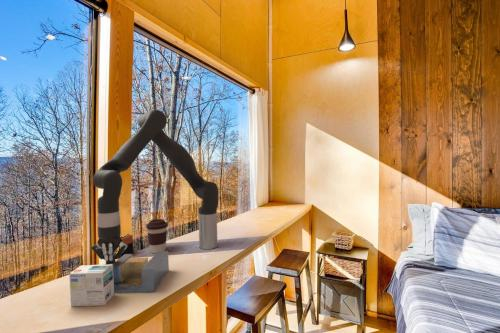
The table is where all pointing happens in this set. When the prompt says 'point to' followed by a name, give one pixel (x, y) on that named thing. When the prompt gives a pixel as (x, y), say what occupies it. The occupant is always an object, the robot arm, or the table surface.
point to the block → (134, 270)
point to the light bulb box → (91, 285)
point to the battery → (128, 240)
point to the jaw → (120, 269)
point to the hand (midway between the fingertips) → (110, 269)
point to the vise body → (148, 275)
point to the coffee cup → (157, 235)
